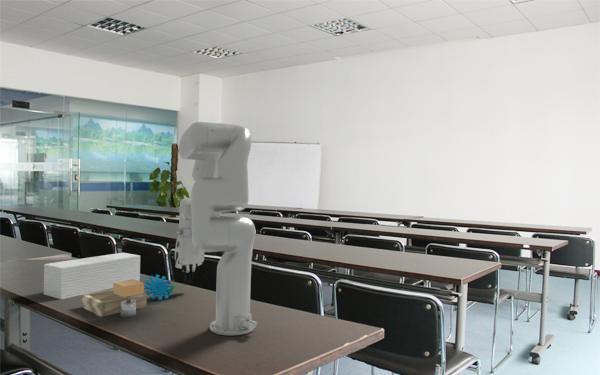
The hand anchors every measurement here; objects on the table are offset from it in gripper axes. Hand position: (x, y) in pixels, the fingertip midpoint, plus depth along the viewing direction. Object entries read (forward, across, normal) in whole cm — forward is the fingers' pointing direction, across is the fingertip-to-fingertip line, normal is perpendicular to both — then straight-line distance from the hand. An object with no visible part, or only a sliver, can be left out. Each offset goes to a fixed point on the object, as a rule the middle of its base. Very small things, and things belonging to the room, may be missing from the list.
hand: (188, 282), depth 165 cm
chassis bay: (+4, -28, 0) cm, 28 cm away
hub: (-3, -28, -10) cm, 31 cm away
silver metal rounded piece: (+4, -28, -10) cm, 31 cm away
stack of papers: (+4, -22, +28) cm, 36 cm away
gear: (+4, -11, 0) cm, 12 cm away
